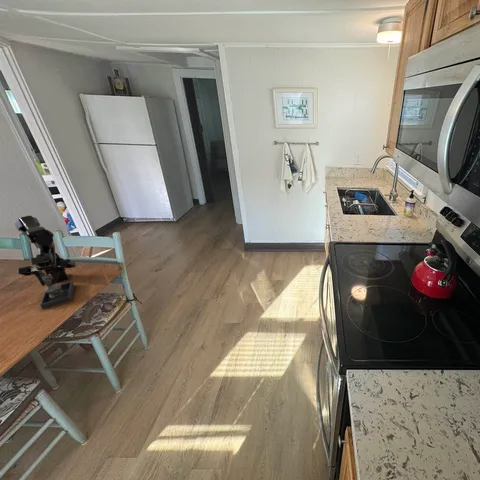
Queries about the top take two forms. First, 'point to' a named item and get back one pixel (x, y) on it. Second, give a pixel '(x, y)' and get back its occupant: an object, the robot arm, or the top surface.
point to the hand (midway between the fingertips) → (48, 284)
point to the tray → (60, 299)
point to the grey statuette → (52, 287)
